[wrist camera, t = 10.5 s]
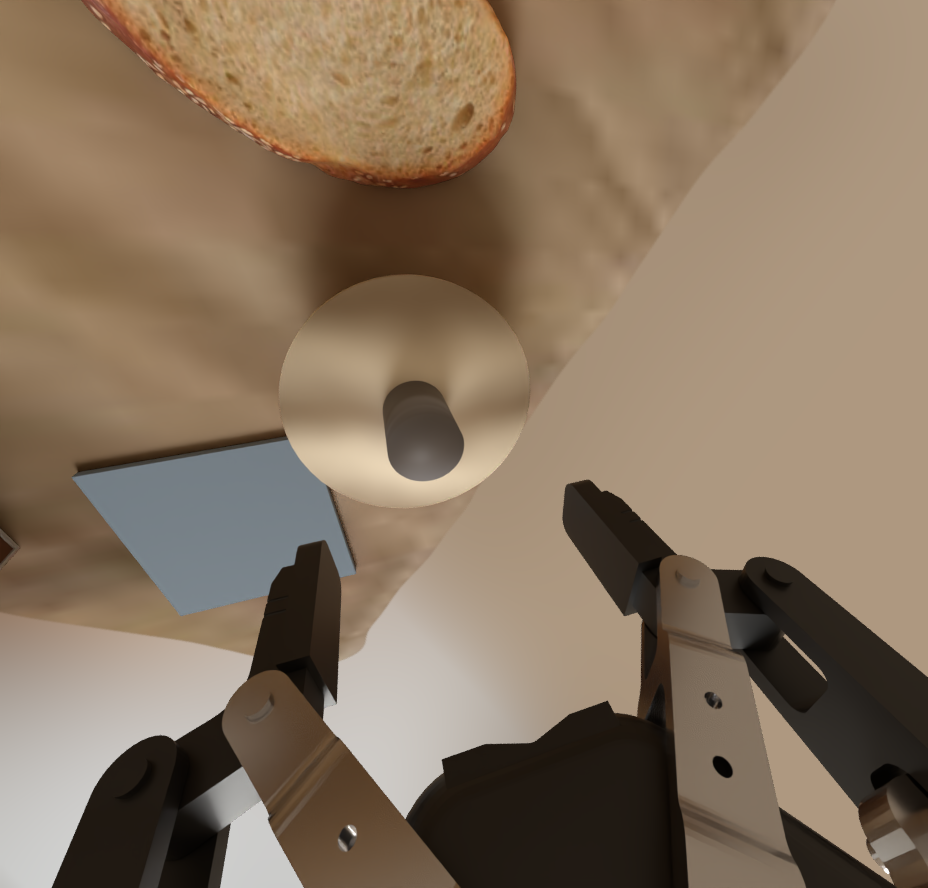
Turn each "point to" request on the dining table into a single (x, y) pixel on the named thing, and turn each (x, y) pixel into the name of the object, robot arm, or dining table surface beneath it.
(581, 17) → the dining table surface
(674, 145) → the dining table surface
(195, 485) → the mat
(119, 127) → the dining table surface
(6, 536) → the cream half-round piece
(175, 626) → the dining table surface
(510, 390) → the lid
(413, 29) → the bread slice
